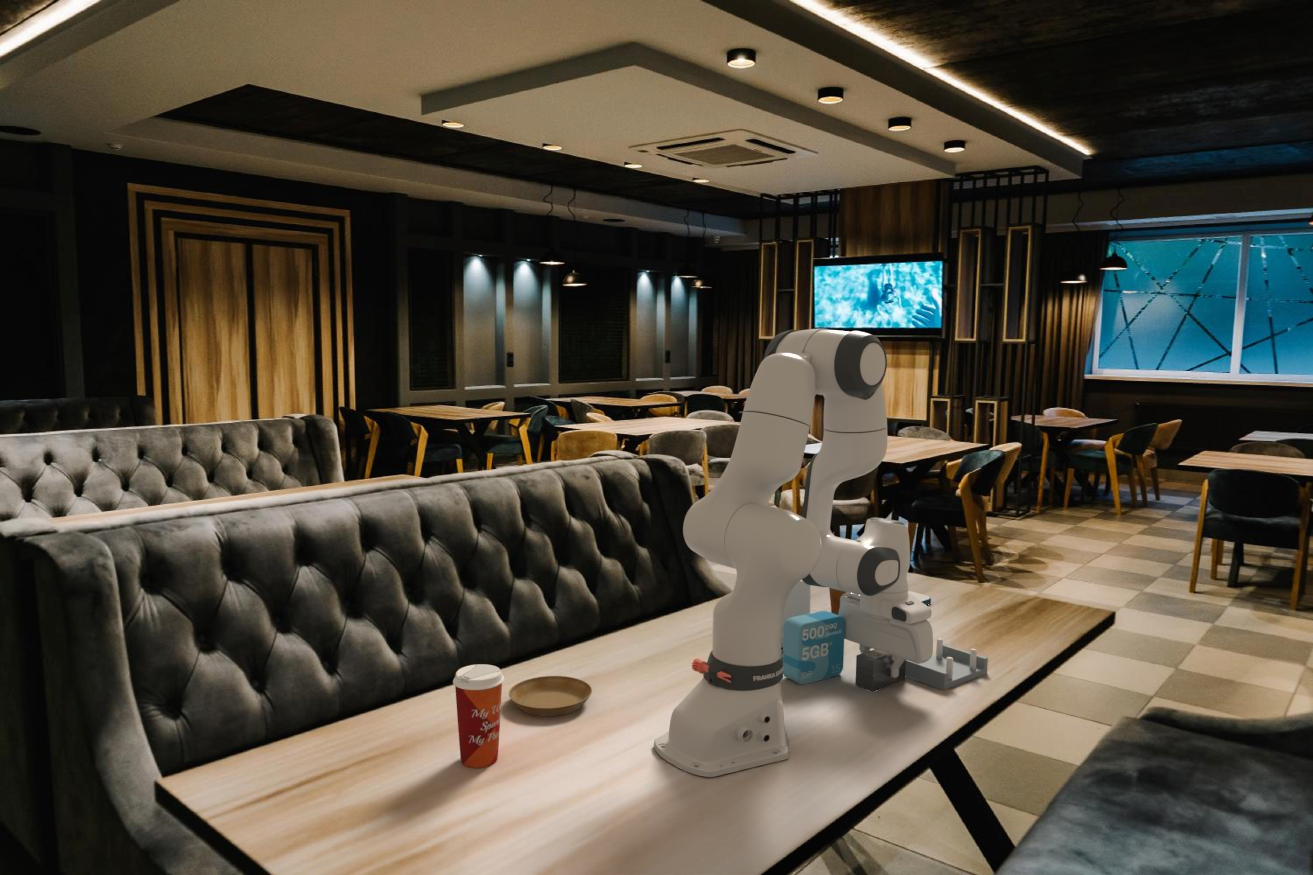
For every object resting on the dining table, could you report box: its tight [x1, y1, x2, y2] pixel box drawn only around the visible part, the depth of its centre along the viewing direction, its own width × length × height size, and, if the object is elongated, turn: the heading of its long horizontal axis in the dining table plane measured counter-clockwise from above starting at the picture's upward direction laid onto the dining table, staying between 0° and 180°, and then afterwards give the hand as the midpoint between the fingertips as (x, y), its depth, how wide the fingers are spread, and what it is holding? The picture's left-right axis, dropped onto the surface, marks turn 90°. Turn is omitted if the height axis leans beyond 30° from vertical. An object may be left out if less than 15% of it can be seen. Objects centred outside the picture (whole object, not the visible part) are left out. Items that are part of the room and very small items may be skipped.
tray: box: [905, 638, 989, 691], centre depth 174 cm, size 15×10×5 cm
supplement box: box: [781, 580, 812, 649], centre depth 191 cm, size 9×9×15 cm
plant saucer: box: [508, 675, 593, 717], centre depth 157 cm, size 15×15×3 cm
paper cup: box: [452, 663, 505, 769], centre depth 135 cm, size 8×8×14 cm
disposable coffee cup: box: [828, 588, 846, 615], centre depth 212 cm, size 10×10×12 cm
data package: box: [782, 610, 845, 685], centre depth 171 cm, size 12×4×12 cm, turn 122°
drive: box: [854, 649, 906, 693], centre depth 169 cm, size 10×4×6 cm, turn 128°
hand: (881, 671), depth 169 cm, fingers closed on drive, 4 cm apart
